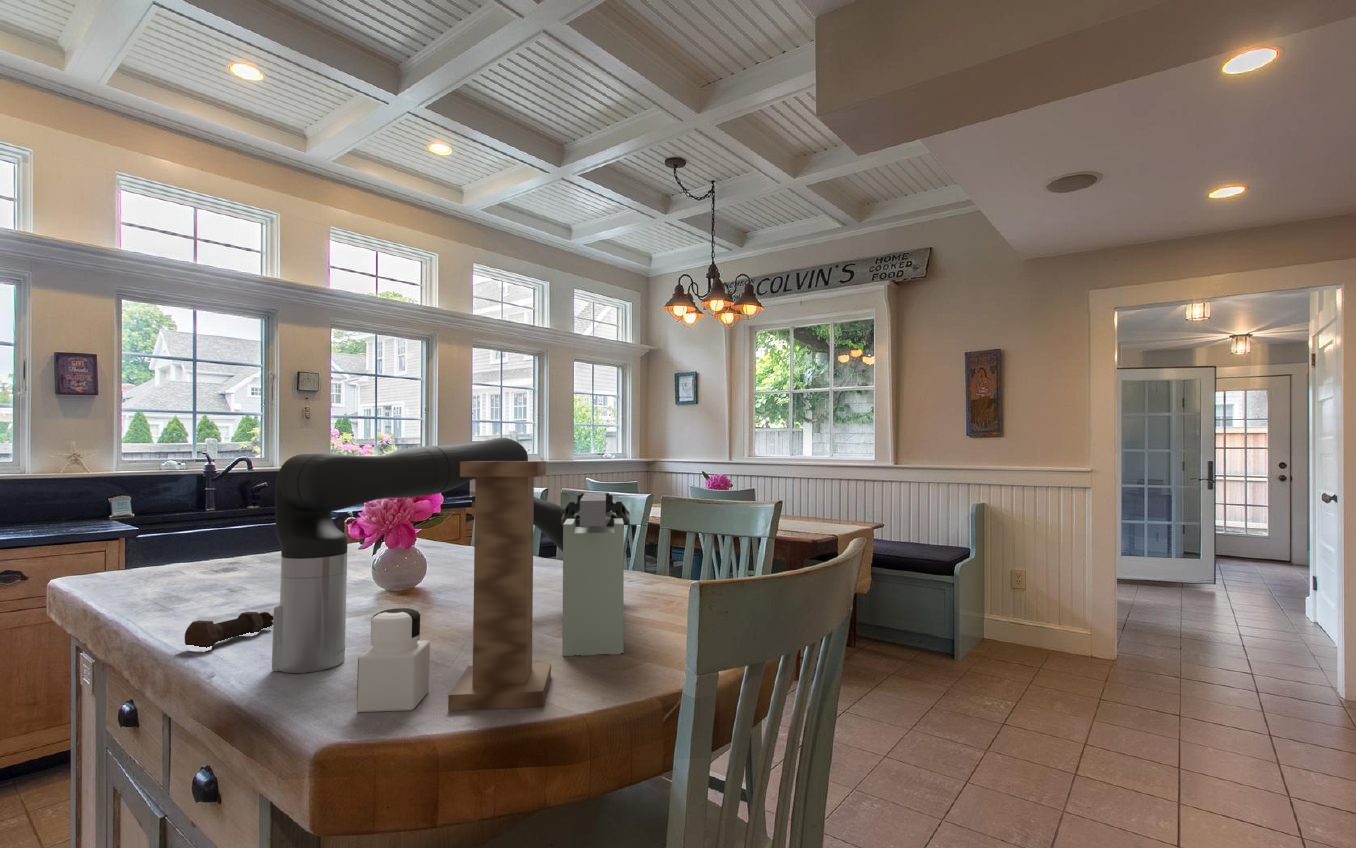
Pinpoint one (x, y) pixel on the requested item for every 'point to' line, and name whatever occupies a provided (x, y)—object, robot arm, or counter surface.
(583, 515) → the brushed steel bar
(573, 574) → the grey tall block
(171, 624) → the counter surface
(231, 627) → the bolt
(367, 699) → the medicine bottle
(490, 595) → the tall column
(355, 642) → the counter surface
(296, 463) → the robot arm
